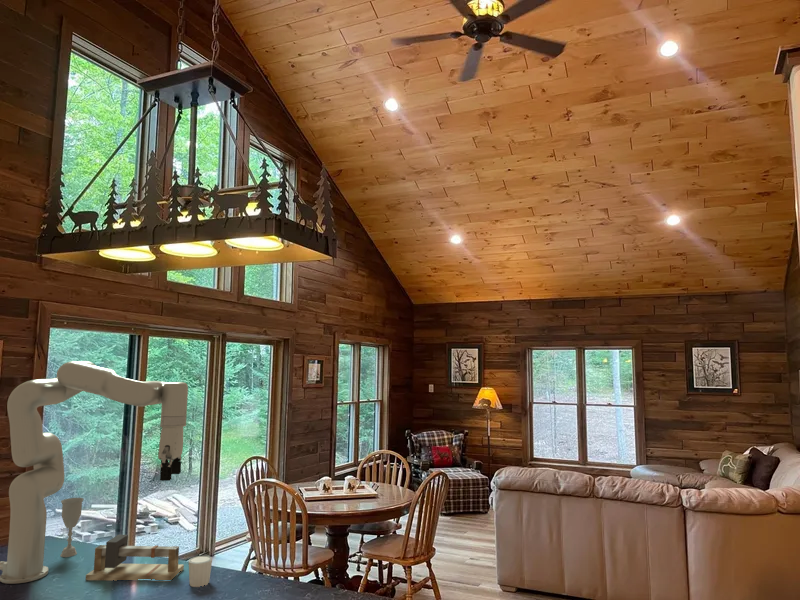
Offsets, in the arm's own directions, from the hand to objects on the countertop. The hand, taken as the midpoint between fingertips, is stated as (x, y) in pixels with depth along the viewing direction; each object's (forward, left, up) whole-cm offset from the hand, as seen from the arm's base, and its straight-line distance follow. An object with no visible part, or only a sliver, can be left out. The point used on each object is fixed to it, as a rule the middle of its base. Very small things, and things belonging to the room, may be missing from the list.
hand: (170, 477), depth 179 cm
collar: (-17, +3, -27) cm, 32 cm away
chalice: (-41, +20, -31) cm, 55 cm away
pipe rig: (-10, +3, -30) cm, 32 cm away
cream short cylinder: (+12, -3, -31) cm, 33 cm away
